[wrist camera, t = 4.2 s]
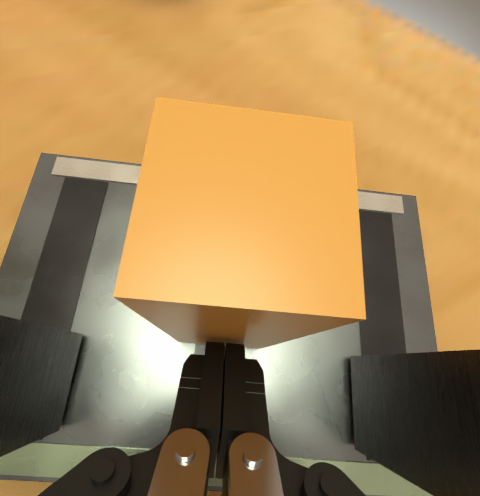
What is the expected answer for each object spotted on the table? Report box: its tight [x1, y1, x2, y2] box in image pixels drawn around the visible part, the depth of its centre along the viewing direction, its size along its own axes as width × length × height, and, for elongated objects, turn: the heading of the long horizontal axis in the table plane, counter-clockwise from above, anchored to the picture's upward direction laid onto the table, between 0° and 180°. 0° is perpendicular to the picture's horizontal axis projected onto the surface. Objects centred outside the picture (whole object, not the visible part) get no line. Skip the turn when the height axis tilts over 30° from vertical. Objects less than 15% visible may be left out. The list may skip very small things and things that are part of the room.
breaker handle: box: [113, 97, 366, 349], centre depth 11 cm, size 4×4×11 cm
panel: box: [0, 153, 480, 496], centre depth 12 cm, size 23×16×13 cm
